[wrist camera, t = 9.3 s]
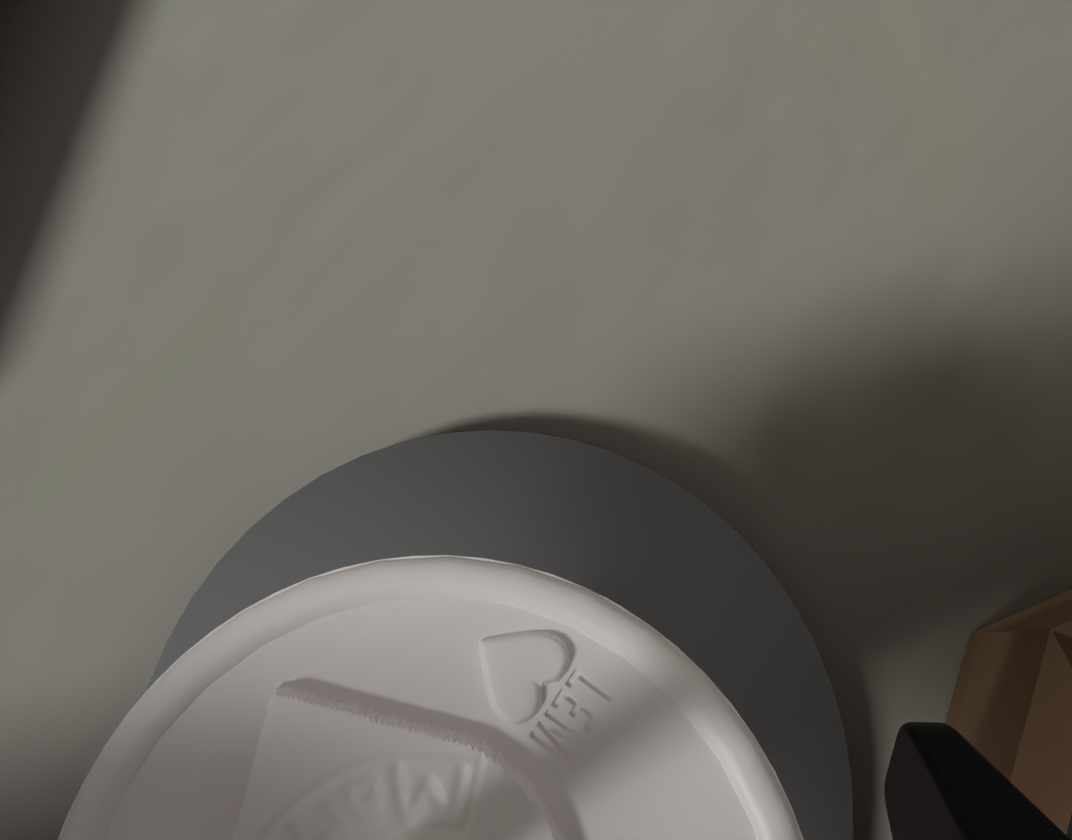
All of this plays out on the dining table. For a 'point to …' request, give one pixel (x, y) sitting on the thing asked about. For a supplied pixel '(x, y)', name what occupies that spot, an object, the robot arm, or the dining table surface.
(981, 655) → the brown octagonal holder
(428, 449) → the rubber mat
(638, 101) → the dining table surface
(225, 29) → the dining table surface
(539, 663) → the smoothie
